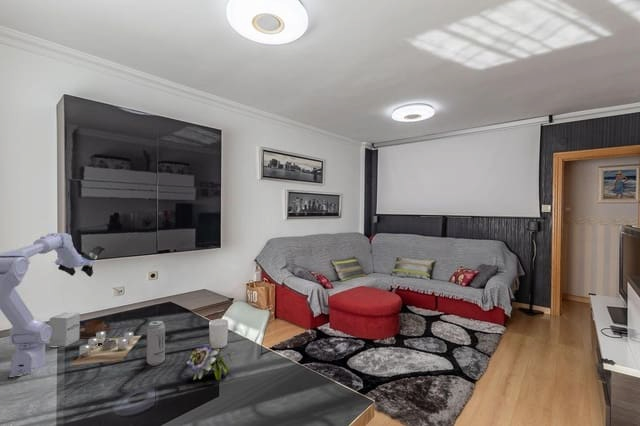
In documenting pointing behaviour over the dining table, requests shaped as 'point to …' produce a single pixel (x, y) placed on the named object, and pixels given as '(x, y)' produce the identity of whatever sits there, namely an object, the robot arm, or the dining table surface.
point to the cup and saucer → (93, 328)
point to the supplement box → (64, 329)
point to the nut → (108, 345)
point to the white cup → (218, 332)
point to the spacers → (100, 337)
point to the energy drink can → (155, 343)
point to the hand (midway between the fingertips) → (82, 274)
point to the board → (106, 353)
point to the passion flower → (207, 361)
